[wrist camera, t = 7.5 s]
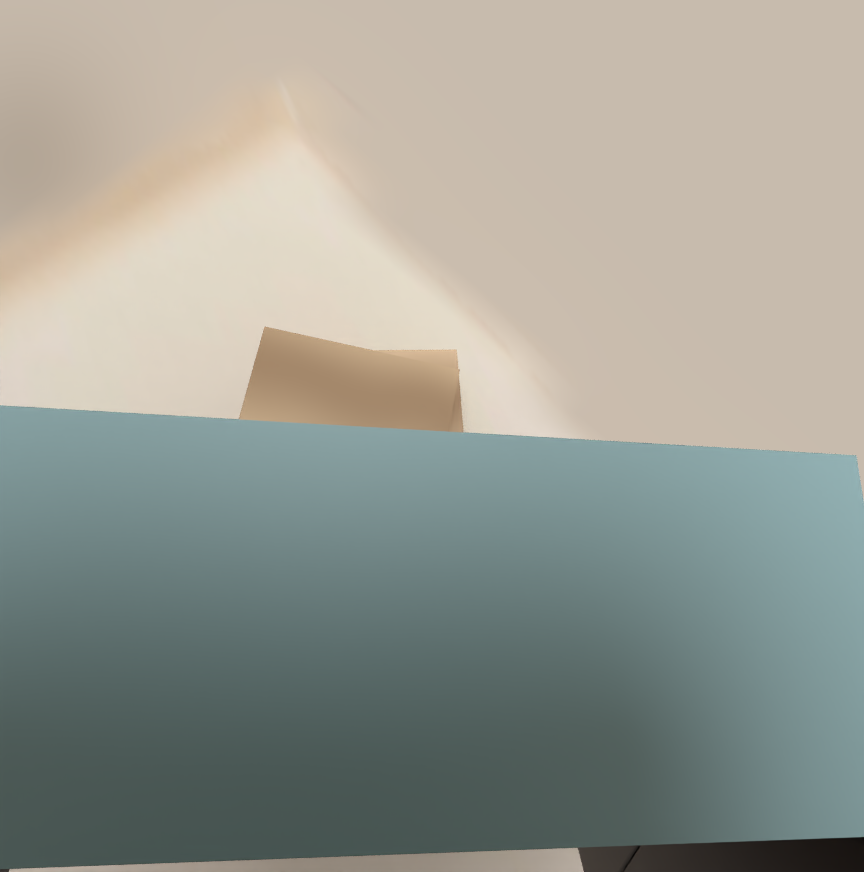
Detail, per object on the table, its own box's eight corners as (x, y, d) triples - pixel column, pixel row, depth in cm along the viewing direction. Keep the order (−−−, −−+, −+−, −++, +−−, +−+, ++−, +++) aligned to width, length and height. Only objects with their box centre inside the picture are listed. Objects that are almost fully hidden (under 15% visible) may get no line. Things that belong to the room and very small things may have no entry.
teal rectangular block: (445, 609, 16) (915, 833, 3) (232, 605, 15) (-686, 893, 2) (446, 546, 16) (856, 454, 3) (239, 540, 16) (-463, 377, 2)
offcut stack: (446, 516, 22) (479, 498, 16) (260, 506, 21) (225, 484, 15) (450, 386, 23) (482, 329, 17) (274, 372, 22) (247, 307, 16)
